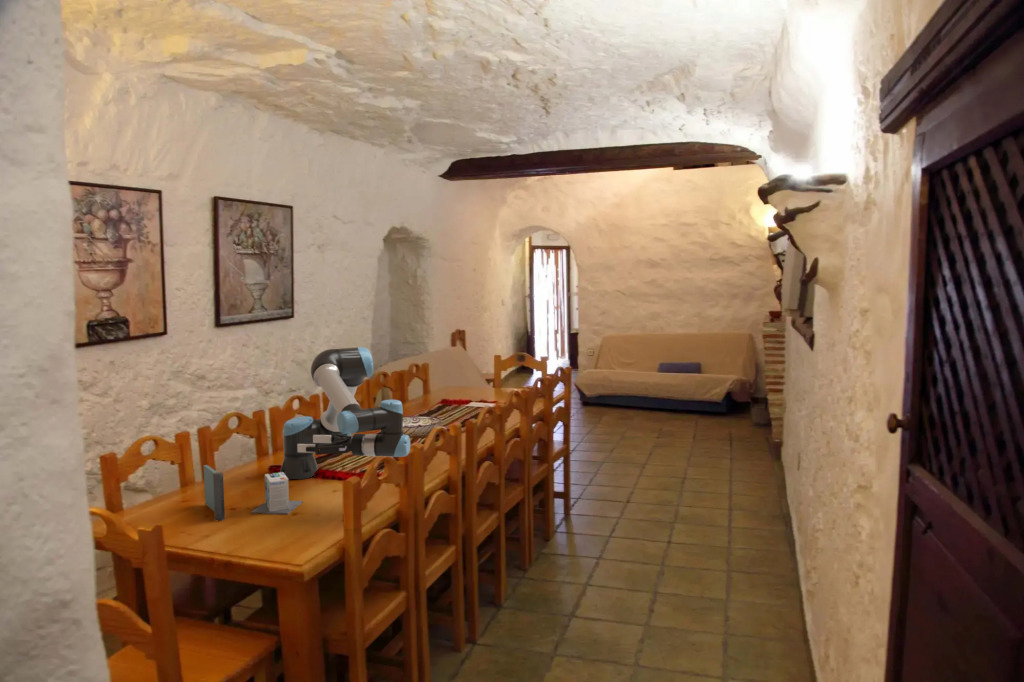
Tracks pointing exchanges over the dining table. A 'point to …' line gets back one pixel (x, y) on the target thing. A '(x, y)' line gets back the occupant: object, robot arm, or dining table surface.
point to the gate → (209, 486)
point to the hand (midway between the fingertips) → (305, 443)
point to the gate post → (219, 496)
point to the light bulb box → (276, 491)
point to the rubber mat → (264, 509)
